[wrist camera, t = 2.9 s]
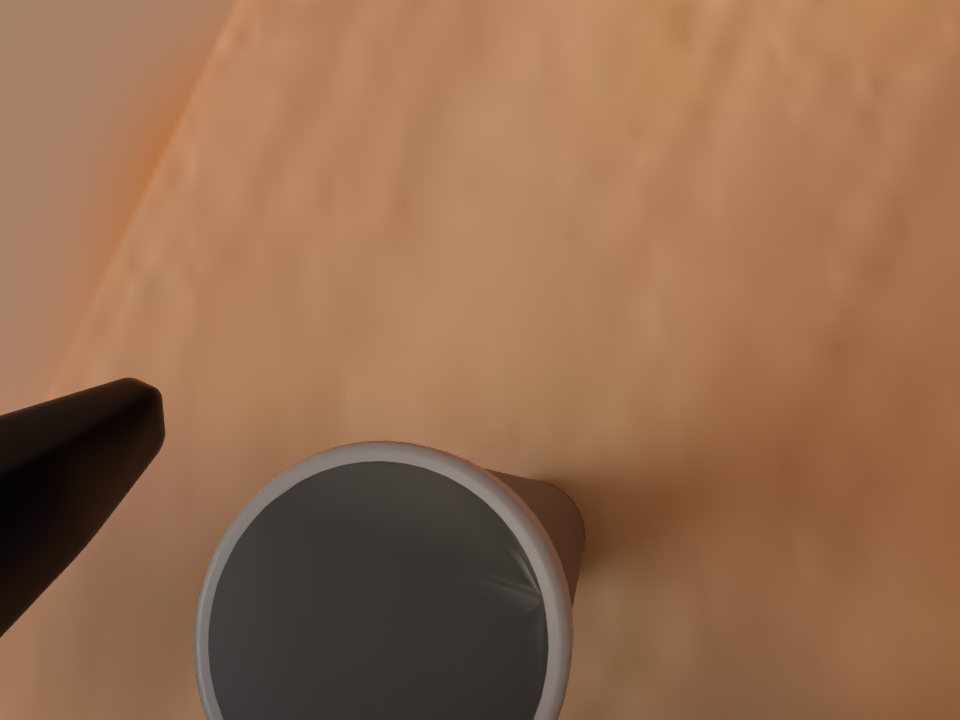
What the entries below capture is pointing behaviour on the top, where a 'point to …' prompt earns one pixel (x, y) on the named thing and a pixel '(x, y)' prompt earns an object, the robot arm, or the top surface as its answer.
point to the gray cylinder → (391, 593)
